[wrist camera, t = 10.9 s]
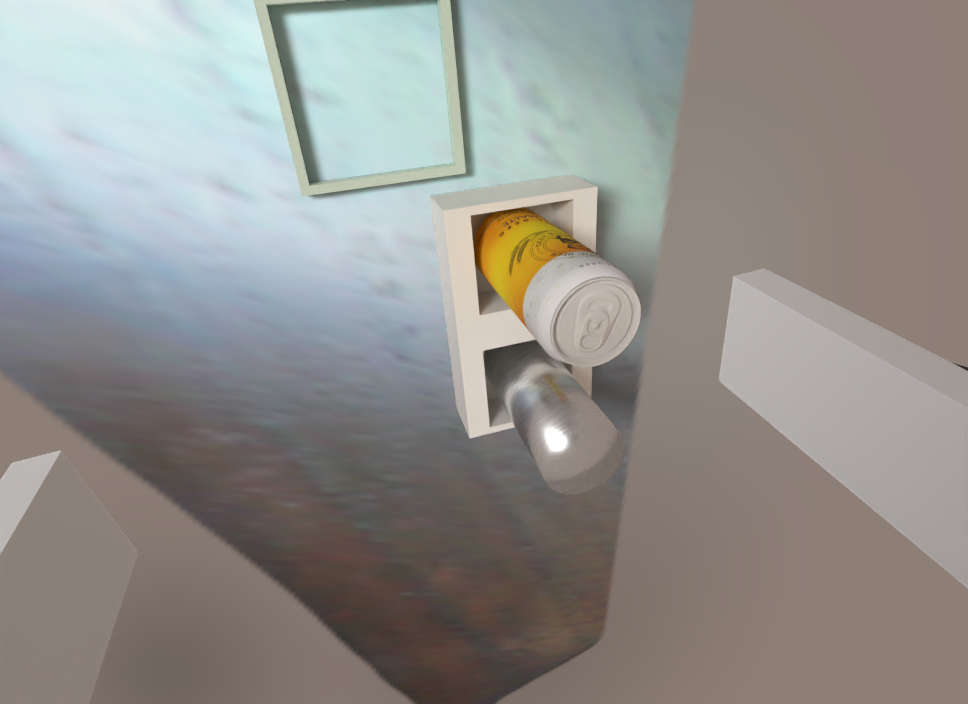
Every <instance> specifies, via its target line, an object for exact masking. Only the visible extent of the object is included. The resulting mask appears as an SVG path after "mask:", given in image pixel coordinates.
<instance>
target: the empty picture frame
mask: <svg viewBox="0 0 968 704" xmlns="http://www.w3.org/2000/svg"><path fill="white" fill-rule="evenodd" d="M331 1H345V0H254V4H255V8H256V12H257V16H258V20H259V24H260V28H261V32H262V36H263V40H264V44H265V48H266V52H267V56H268V60H269V64H270V68H271V72H272V76H273V80H274V84H275V88H276V92H277V96H278V101H279V105H280V109H281V113H282V117H283V121H284V125H285V129H286V133H287V137H288V141H289V145H290V149H291V153H292V157H293V161H294V165H295V169H296V173H297V177H298V181H299V185H300V189H301V193H302V196H309V195H316V194H323V193H330V192H337V191H344V190H351V189H358V188H365V187H372V186H380V185H387V184H394V183H401V182H408V181H415V180H422V179H429V178H436V177H443V176H450V175H457V174H464V173H466V167H465V157H464V146H463V135H462V124H461V113H460V102H459V91H458V80H457V69H456V58H455V48H454V37H453V26H452V15H451V4H450V0H437V6H438V16H439V26H440V36H441V45H442V55H443V65H444V75H445V84H446V94H447V104H448V114H449V124H450V133H451V143H452V153H453V163H451V164H443V165H436V166H429V167H421V168H414V169H407V170H400V171H392V172H385V173H378V174H370V175H363V176H356V177H349V178H341V179H334V180H327V181H320V182H312V183H309V180H308V175H307V171H306V167H305V163H304V158H303V154H302V150H301V146H300V142H299V137H298V133H297V129H296V125H295V121H294V116H293V112H292V108H291V104H290V100H289V95H288V91H287V87H286V83H285V79H284V74H283V70H282V66H281V62H280V58H279V53H278V49H277V45H276V41H275V37H274V32H273V28H272V24H271V20H270V16H269V11H268V7H267V6H274V5H288V4H302V3H317V2H331Z"/></svg>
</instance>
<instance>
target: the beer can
mask: <svg viewBox="0 0 968 704" xmlns="http://www.w3.org/2000/svg"><path fill="white" fill-rule="evenodd" d="M473 248H474V259H475V264H476V266H477V268H478V269H479V271H480V272H481V273H482V275H483V276H484V277H485V278H486V279H487V281H488V282H489V283H490V284H491V286H492V287H493V288H494V289H495V290H496V292H497V293H498V294H499V295H500V296H501V298H502V299H503V300H504V301H505V303H506V304H507V305H508V306H509V307H510V309H511V310H512V311H513V312H514V313H515V315H516V316H517V317H518V318H519V320H520V321H521V322H522V323H523V324H524V326H525V327H526V328H527V329H528V330H529V332H530V333H531V334H532V335H533V337H534V338H535V339H536V340H537V341H538V343H539V344H540V345H541V346H542V347H543V349H544V350H545V351H546V352H547V353H548V354H549V355H550V356H551V357H553V358H554V359H556V360H558V361H561V362H563V363H568V364H571V365H573V366H577V367H595V366H599V365H602V364H604V363H606V362H609V361H610V360H612V359H614V358H615V357H617V356H618V355H619V354H620V353H622V352H623V351H624V350H625V349H626V348H627V346H628V345H629V344H630V343H631V341H632V340H633V338H634V336H635V334H636V332H637V330H638V327H639V324H640V320H641V304H640V300H639V298H638V295H637V294H636V290H635V287H634V285H633V283H632V281H631V279H630V278H629V277H628V276H627V275H626V274H625V273H624V272H623V271H622V270H620V269H619V268H617V267H616V266H614V265H613V264H611V263H610V262H608V261H607V260H605V259H604V258H602V257H601V256H599V255H598V254H596V253H595V252H593V251H592V250H590V249H589V248H587V247H586V246H584V245H583V244H581V243H580V242H578V241H577V240H575V239H574V238H572V237H571V236H569V235H568V234H566V233H565V232H563V231H562V230H560V229H559V228H557V227H556V226H554V225H553V224H551V223H550V222H548V221H547V220H545V219H544V218H542V217H541V216H539V215H538V214H536V213H535V212H533V211H532V210H530V209H528V208H525V207H521V208H515V209H509V210H502V211H496V212H494V213H492V214H491V215H489V216H488V217H487V218H486V219H485V220H484V221H483V222H482V224H481V225H480V227H479V228H478V230H477V232H476V235H475V238H474V242H473Z"/></svg>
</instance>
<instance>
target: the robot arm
mask: <svg viewBox="0 0 968 704" xmlns="http://www.w3.org/2000/svg"><path fill="white" fill-rule="evenodd" d="M719 381H720V382H721V383H722V384H723V385H725V386H726V387H727V388H728V389H729V390H731V391H732V392H733V393H734V394H735V395H736V396H738V397H739V398H740V399H741V400H742V401H744V402H745V403H746V404H747V405H749V406H750V407H751V408H752V409H753V410H755V411H756V412H757V413H758V414H759V415H761V416H762V417H763V418H764V419H765V420H766V421H768V422H769V423H770V424H771V425H772V426H774V427H775V428H776V429H778V430H779V431H780V432H781V433H782V434H783V435H785V436H786V437H787V438H788V439H789V440H791V441H792V442H793V443H794V444H795V445H797V446H798V447H799V448H800V449H801V450H802V451H804V452H805V453H806V454H807V455H808V456H810V457H811V458H812V459H813V460H814V461H816V462H817V463H818V464H819V465H820V466H822V467H823V468H824V469H825V470H827V471H828V472H829V473H830V474H831V475H832V476H834V477H835V478H836V479H837V480H838V481H840V482H841V483H842V484H843V485H845V486H846V487H847V488H848V489H849V490H850V491H852V492H853V493H854V494H855V495H857V496H858V497H859V498H860V499H861V500H862V501H864V502H865V503H866V504H867V505H869V506H870V507H871V508H872V509H873V510H874V511H876V512H877V513H878V514H879V515H881V516H882V517H883V518H884V519H885V520H887V521H888V522H889V523H890V524H891V525H893V526H894V527H895V528H896V529H897V530H899V531H900V532H901V533H902V534H903V535H905V536H906V537H907V538H908V539H909V540H911V541H912V542H913V543H914V544H915V545H916V546H918V547H919V548H920V549H921V550H922V551H924V552H925V553H926V554H927V555H928V556H930V557H931V558H932V559H933V560H934V561H936V562H937V563H938V564H939V565H940V566H942V567H943V568H945V570H946V571H948V572H949V573H950V574H951V575H953V576H954V577H955V578H956V579H957V580H959V581H960V582H961V583H962V584H963V585H965V586H966V587H967V588H968V368H967V367H964V366H961V365H957V364H954V363H951V362H949V361H947V360H945V359H943V358H941V357H939V356H937V355H935V354H933V353H931V352H929V351H927V350H925V349H923V348H921V347H919V346H917V345H915V344H913V343H911V342H909V341H908V340H906V339H904V338H902V337H900V336H898V335H896V334H894V333H892V332H890V331H888V330H886V329H884V328H882V327H880V326H878V325H876V324H874V323H872V322H870V321H868V320H866V319H864V318H862V317H860V316H858V315H856V314H854V313H852V312H850V311H848V310H846V309H844V308H842V307H840V306H838V305H836V304H834V303H832V302H830V301H828V300H826V299H824V298H822V297H820V296H818V295H816V294H814V293H812V292H811V291H809V290H807V289H805V288H803V287H800V286H799V285H797V284H795V283H793V282H791V281H789V280H787V279H785V278H783V277H781V276H779V275H777V274H775V273H773V272H771V271H769V270H767V269H765V268H763V269H759V270H756V271H752V272H748V273H744V274H740V275H737V276H734V277H733V283H732V290H731V297H730V305H729V311H728V318H727V325H726V332H725V339H724V346H723V353H722V360H721V367H720V374H719ZM137 554H138V552H137V550H136V549H135V548H134V546H133V545H132V544H131V542H130V541H129V540H128V538H127V537H126V536H125V534H124V533H123V532H122V530H121V529H120V528H119V526H118V525H117V524H116V522H115V521H114V520H113V518H112V517H111V515H110V514H109V513H108V512H107V510H106V509H105V508H104V506H103V505H102V503H101V502H100V501H99V499H98V498H97V497H96V495H95V494H94V493H93V491H92V490H91V489H90V487H89V486H88V485H87V483H86V482H85V481H84V479H83V478H82V477H81V475H80V474H79V473H78V471H77V470H76V469H75V467H74V466H73V465H72V463H71V462H70V461H69V459H68V458H67V457H66V455H65V454H64V453H63V451H62V450H60V451H56V452H52V453H48V454H44V455H41V456H37V457H33V458H29V459H25V460H21V461H17V462H13V463H12V464H11V465H10V466H9V468H8V470H7V471H6V472H5V474H4V475H3V477H2V478H1V480H0V704H89V702H90V699H91V696H92V693H93V690H94V687H95V684H96V681H97V678H98V674H99V671H100V668H101V665H102V662H103V659H104V656H105V653H106V650H107V647H108V644H109V641H110V637H111V634H112V631H113V628H114V625H115V622H116V619H117V616H118V613H119V610H120V606H121V603H122V600H123V597H124V594H125V591H126V588H127V585H128V581H129V579H130V576H131V573H132V569H133V566H134V563H135V560H136V557H137Z"/></svg>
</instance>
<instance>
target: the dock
mask: <svg viewBox="0 0 968 704" xmlns="http://www.w3.org/2000/svg"><path fill="white" fill-rule="evenodd" d="M597 188H598V187H597V186H595V185H593V184H590V183H588V182H586V181H584V180H581V179H579V178H577V177H575V176H572V175H565V176H558V177H551V178H544V179H538V180H531V181H524V182H518V183H511V184H504V185H497V186H491V187H484V188H477V189H471V190H464V191H457V192H450V193H444V194H437V195H430V202H431V210H432V218H433V226H434V234H435V242H436V249H437V257H438V265H439V273H440V281H441V288H442V296H443V304H444V312H445V320H446V328H447V335H448V343H449V351H450V359H451V367H452V374H453V382H454V390H455V398H456V406H457V410H458V412H459V415H460V417H461V419H462V422H463V424H464V426H465V429H466V431H467V433H468V436H469V438H473V437H477V436H481V435H485V434H489V433H493V432H497V431H501V430H505V429H509V428H513V427H515V426H514V424H513V422H512V421H511V419H510V417H509V415H508V414H507V412H506V410H505V408H504V406H503V405H502V403H501V401H500V399H499V398H498V396H497V394H496V392H495V390H494V389H493V387H492V385H491V383H490V382H489V380H488V378H487V376H486V374H485V369H484V358H483V355H484V352H485V350H489V349H494V348H498V347H503V346H508V345H512V344H517V343H522V342H526V341H531V340H536V339H535V338H534V337H533V335H532V334H531V333H530V332H529V330H528V329H527V328H526V327H525V326H524V324H523V323H522V322H521V321H520V320H519V318H518V317H517V316H516V315H515V313H514V312H513V311H512V310H511V309H510V307H509V306H508V305H507V304H506V303H505V301H504V300H503V299H502V298H501V296H500V295H499V294H498V293H497V292H496V290H495V289H494V288H493V287H492V286H491V284H490V283H489V282H488V281H487V279H486V278H485V277H484V276H483V275H482V273H481V272H480V271H479V269H478V268H477V266H476V264H475V259H474V248H473V242H474V238H475V235H476V232H477V230H478V228H479V227H480V225H481V224H482V222H483V221H484V220H485V219H486V218H487V217H488V216H489V215H491V214H492V213H494V212H496V211H502V210H509V209H515V208H521V207H525V208H528V209H530V210H532V211H533V212H535V213H536V214H538V215H539V216H541V217H542V218H544V219H545V220H547V221H548V222H550V223H551V224H553V225H554V226H556V227H557V228H559V229H560V230H562V231H563V232H565V233H566V234H568V235H569V236H571V237H572V238H574V239H575V240H577V241H578V242H580V243H581V244H583V245H584V246H586V247H587V248H589V249H590V250H592V251H593V252H595V253H596V222H597ZM562 364H563V365H564V366H565V367H566V368H567V370H568V371H569V372H570V373H571V374H572V376H573V377H574V378H575V379H576V380H577V382H578V383H579V384H580V385H581V386H582V388H583V389H584V390H585V391H586V392H587V394H588V395H589V396H590V397H591V392H592V367H577V366H573V365H571V364H568V363H563V362H562Z"/></svg>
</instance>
